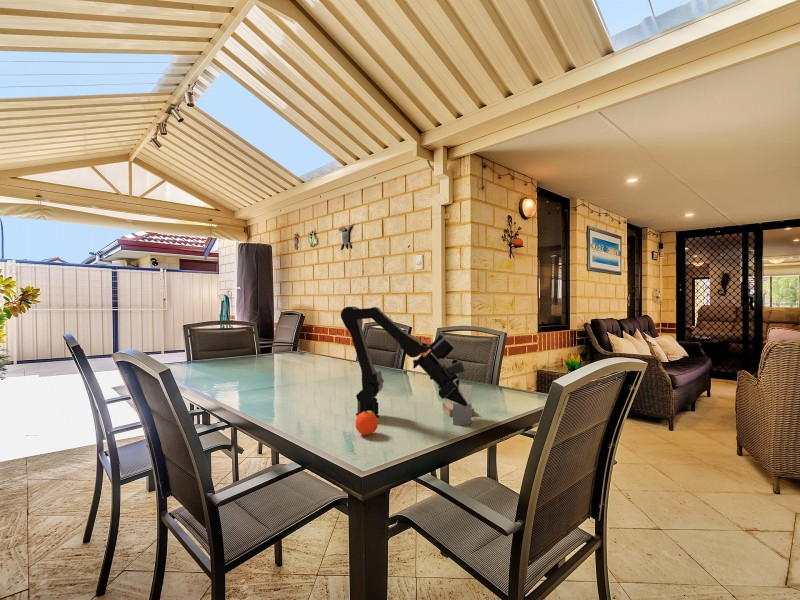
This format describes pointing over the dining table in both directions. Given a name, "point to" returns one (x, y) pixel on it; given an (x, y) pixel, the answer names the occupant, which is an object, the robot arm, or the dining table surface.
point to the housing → (463, 407)
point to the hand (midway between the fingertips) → (466, 402)
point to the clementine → (366, 423)
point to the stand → (451, 409)
